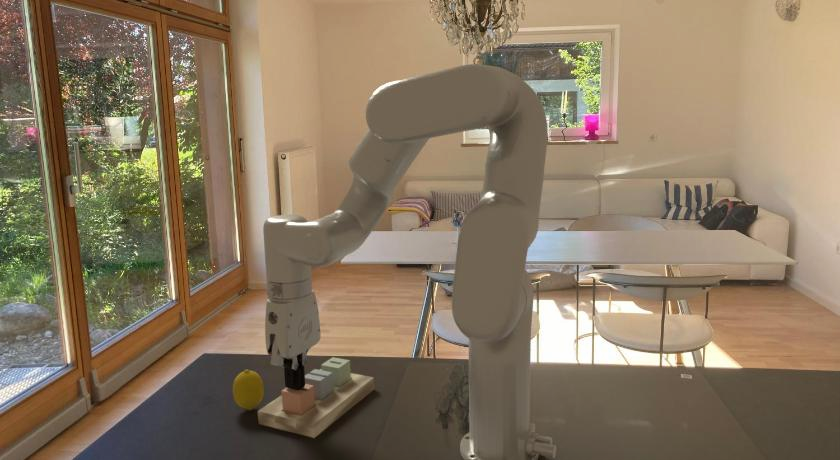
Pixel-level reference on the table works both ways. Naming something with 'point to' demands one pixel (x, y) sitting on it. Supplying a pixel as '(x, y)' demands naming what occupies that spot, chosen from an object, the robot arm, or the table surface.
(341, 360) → the key sage
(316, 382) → the key slate
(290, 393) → the key terracotta
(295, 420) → the keypad board
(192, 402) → the table surface
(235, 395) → the lemon
